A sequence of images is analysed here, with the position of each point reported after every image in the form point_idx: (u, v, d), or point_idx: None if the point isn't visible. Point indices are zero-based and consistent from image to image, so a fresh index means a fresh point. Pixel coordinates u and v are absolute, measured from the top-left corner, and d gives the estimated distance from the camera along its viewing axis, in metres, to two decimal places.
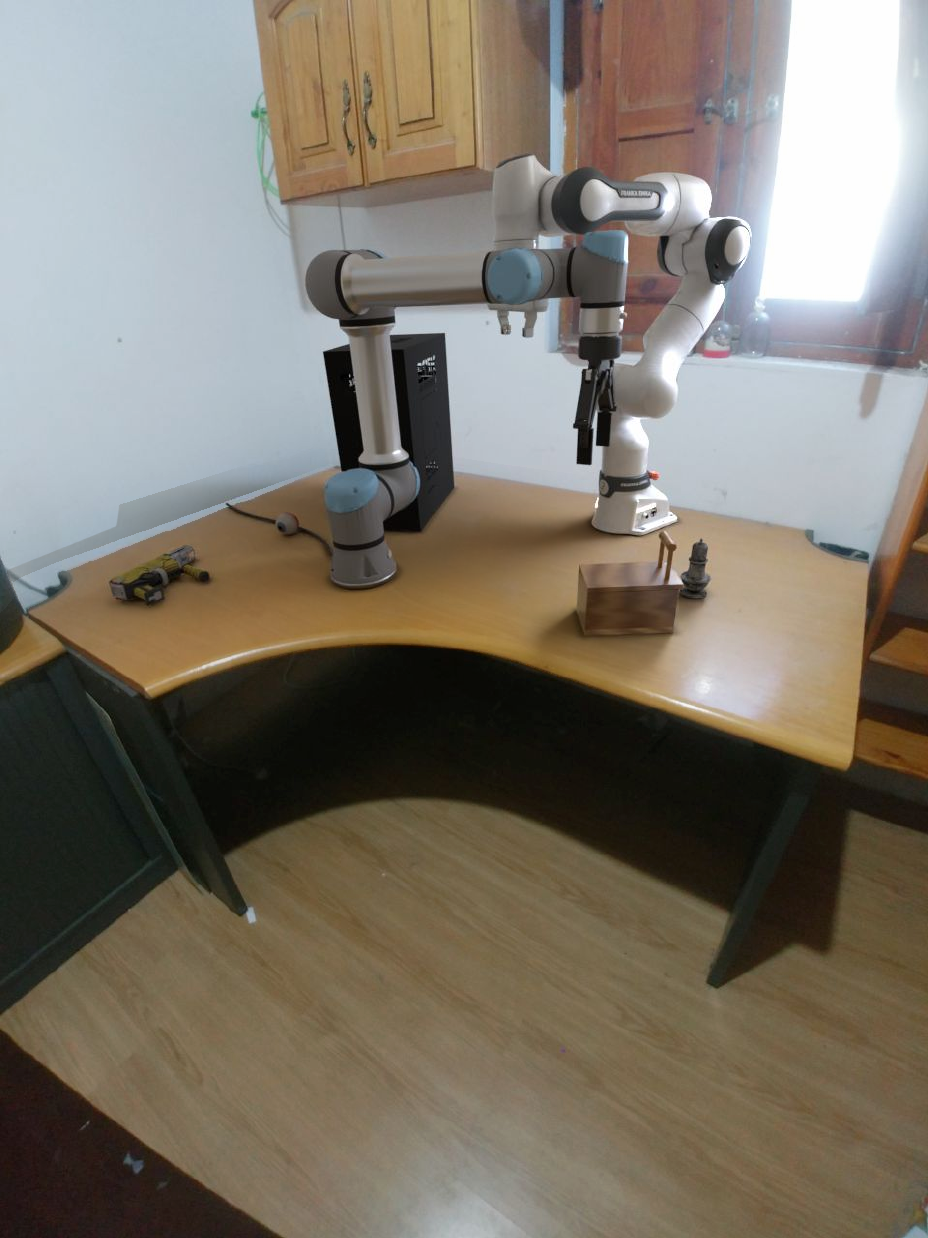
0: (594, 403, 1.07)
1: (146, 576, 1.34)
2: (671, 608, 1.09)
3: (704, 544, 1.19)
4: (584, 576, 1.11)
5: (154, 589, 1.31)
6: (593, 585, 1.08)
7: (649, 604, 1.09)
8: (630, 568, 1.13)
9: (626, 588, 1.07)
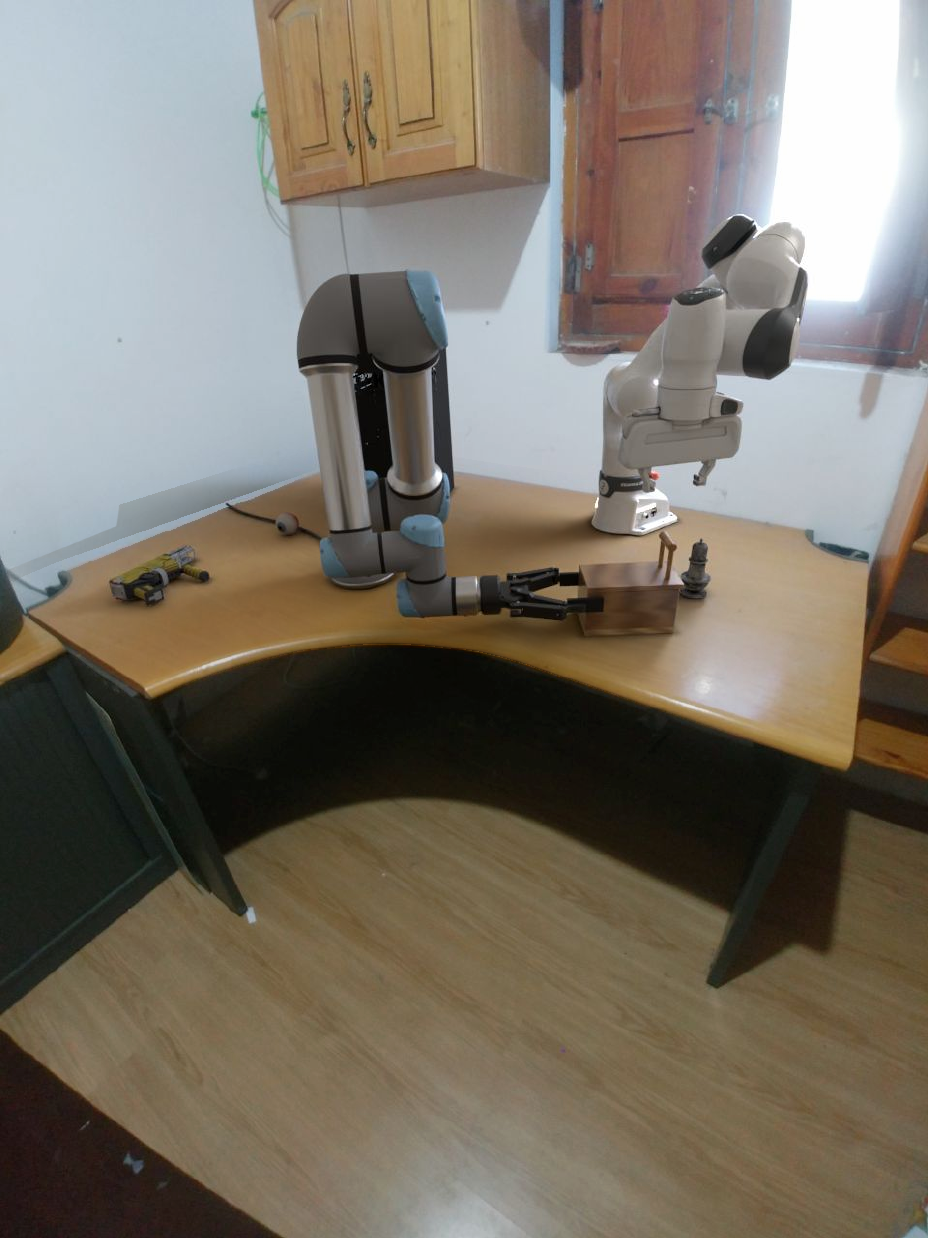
0: None
1: (146, 576, 1.34)
2: (671, 608, 1.09)
3: (704, 544, 1.19)
4: (584, 576, 1.11)
5: (154, 589, 1.31)
6: (593, 585, 1.08)
7: (649, 604, 1.09)
8: (630, 568, 1.13)
9: (626, 589, 1.07)
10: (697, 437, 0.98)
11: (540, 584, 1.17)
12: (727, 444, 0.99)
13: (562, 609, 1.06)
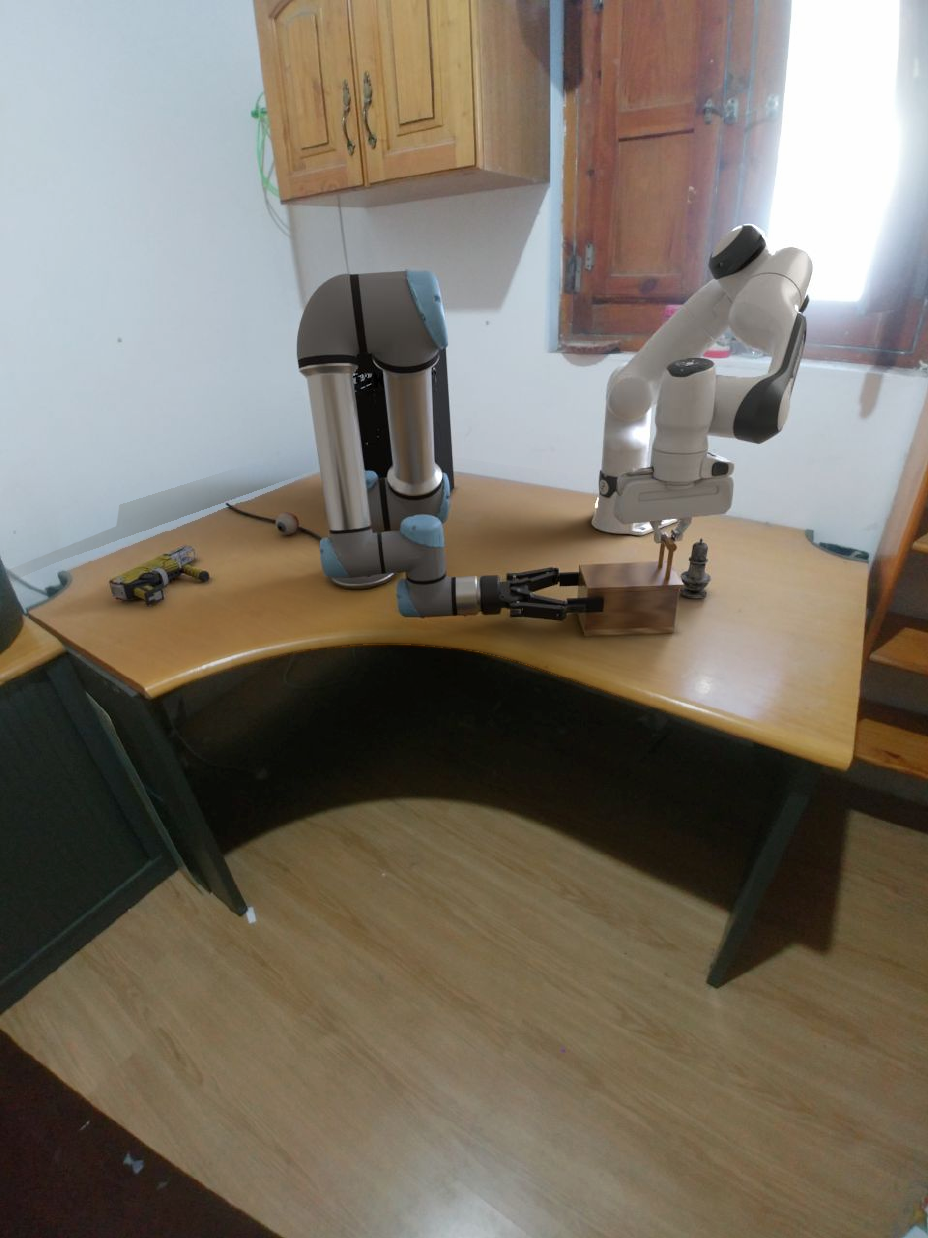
0: None
1: (146, 576, 1.34)
2: (671, 608, 1.09)
3: (704, 544, 1.19)
4: (584, 576, 1.11)
5: (154, 589, 1.31)
6: (593, 585, 1.08)
7: (649, 604, 1.09)
8: (630, 568, 1.13)
9: (626, 589, 1.07)
10: (689, 495, 1.03)
11: (540, 584, 1.17)
12: (720, 502, 1.04)
13: (562, 609, 1.06)
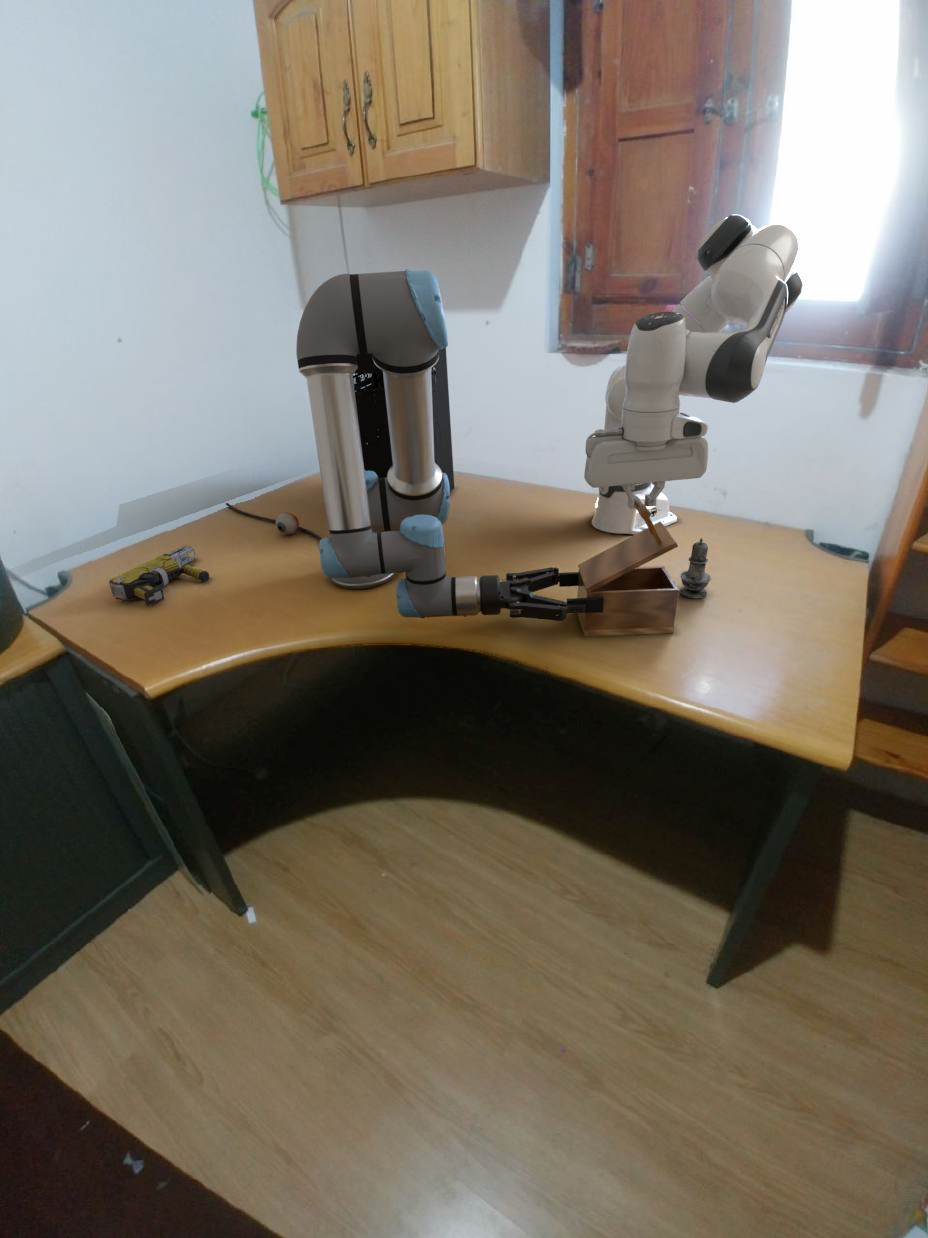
0: None
1: (146, 576, 1.34)
2: (671, 608, 1.09)
3: (704, 544, 1.19)
4: (583, 576, 1.11)
5: (154, 589, 1.31)
6: (591, 583, 1.08)
7: (649, 604, 1.09)
8: (624, 547, 1.11)
9: (623, 572, 1.06)
10: (662, 457, 0.99)
11: (539, 584, 1.17)
12: (694, 465, 1.00)
13: (562, 609, 1.06)
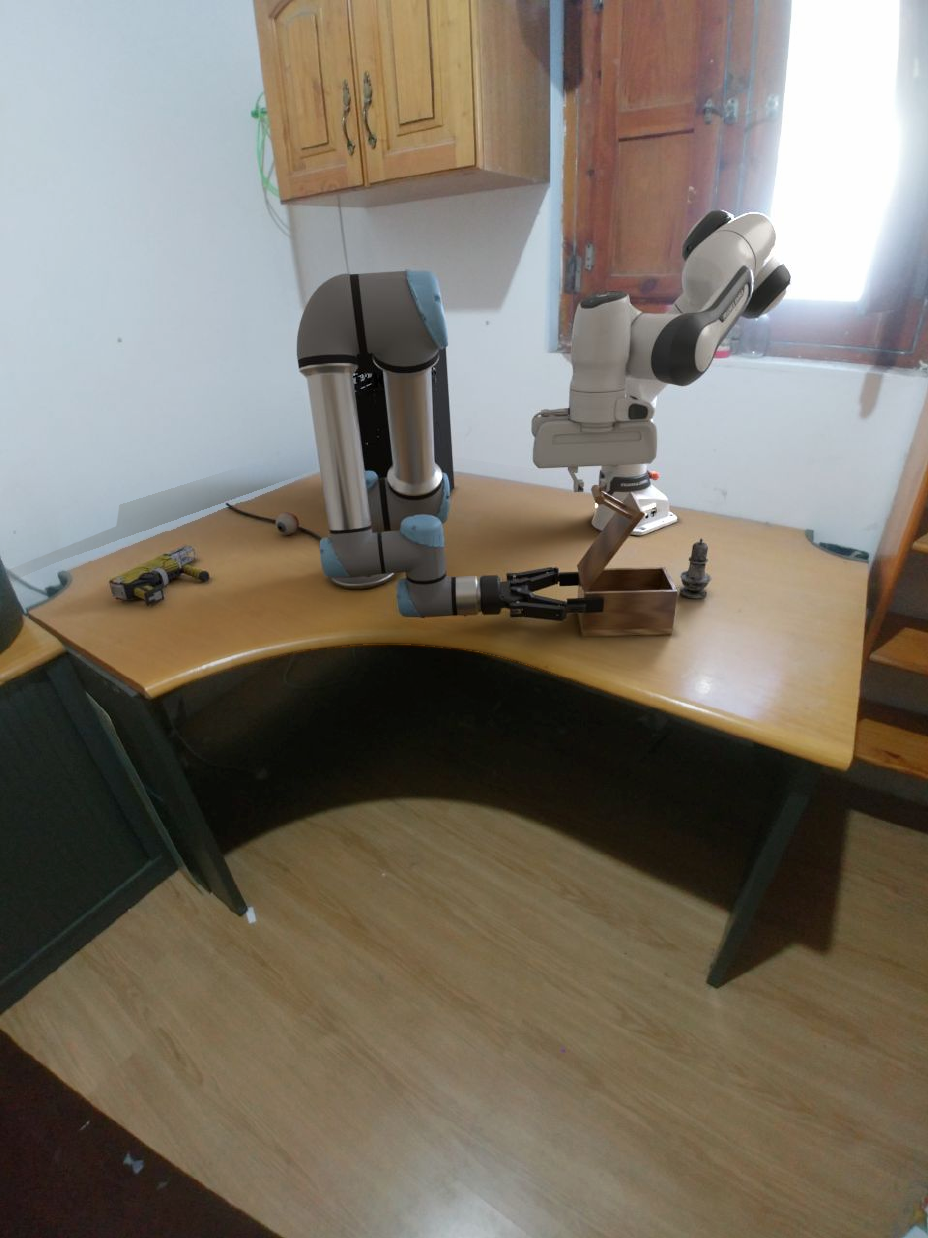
0: None
1: (146, 576, 1.34)
2: (670, 610, 1.09)
3: (704, 544, 1.19)
4: (580, 576, 1.12)
5: (154, 589, 1.31)
6: (585, 581, 1.08)
7: (647, 605, 1.08)
8: (607, 532, 1.09)
9: (607, 560, 1.04)
10: (609, 440, 0.98)
11: (540, 584, 1.17)
12: (643, 449, 0.98)
13: (562, 609, 1.05)
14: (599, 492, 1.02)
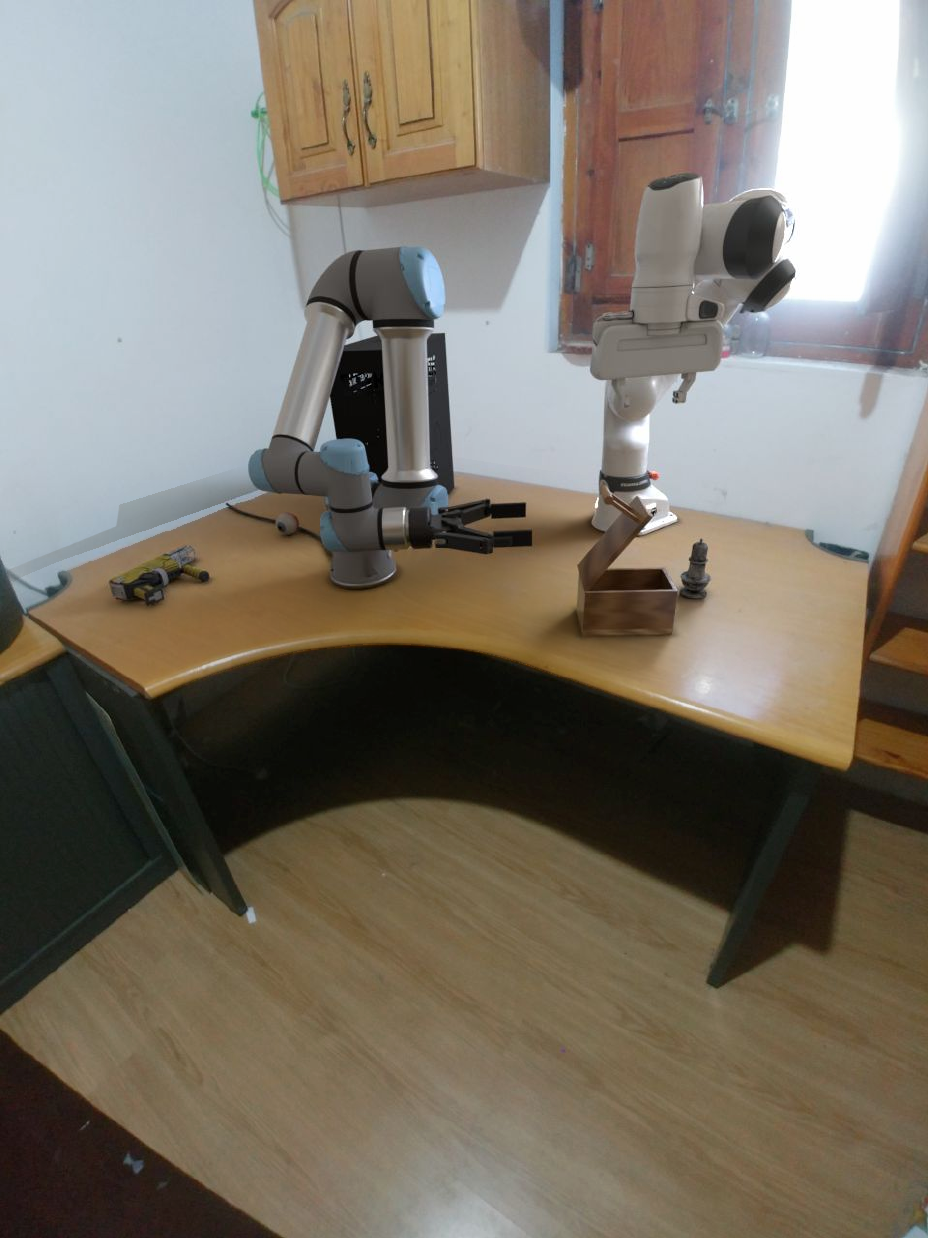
0: None
1: (146, 576, 1.34)
2: (670, 610, 1.09)
3: (704, 544, 1.19)
4: (580, 576, 1.12)
5: (154, 589, 1.31)
6: (586, 581, 1.08)
7: (647, 605, 1.09)
8: (610, 533, 1.10)
9: (610, 561, 1.05)
10: (674, 345, 0.91)
11: (472, 516, 1.11)
12: (708, 354, 0.92)
13: (485, 541, 0.98)
14: (608, 492, 1.03)
